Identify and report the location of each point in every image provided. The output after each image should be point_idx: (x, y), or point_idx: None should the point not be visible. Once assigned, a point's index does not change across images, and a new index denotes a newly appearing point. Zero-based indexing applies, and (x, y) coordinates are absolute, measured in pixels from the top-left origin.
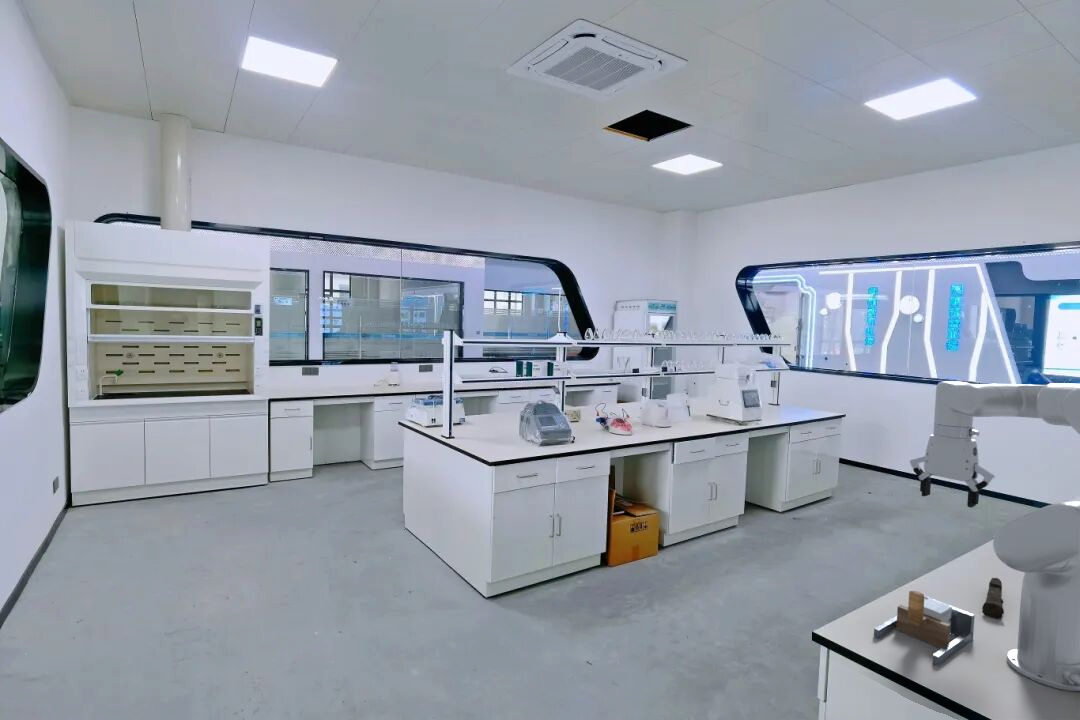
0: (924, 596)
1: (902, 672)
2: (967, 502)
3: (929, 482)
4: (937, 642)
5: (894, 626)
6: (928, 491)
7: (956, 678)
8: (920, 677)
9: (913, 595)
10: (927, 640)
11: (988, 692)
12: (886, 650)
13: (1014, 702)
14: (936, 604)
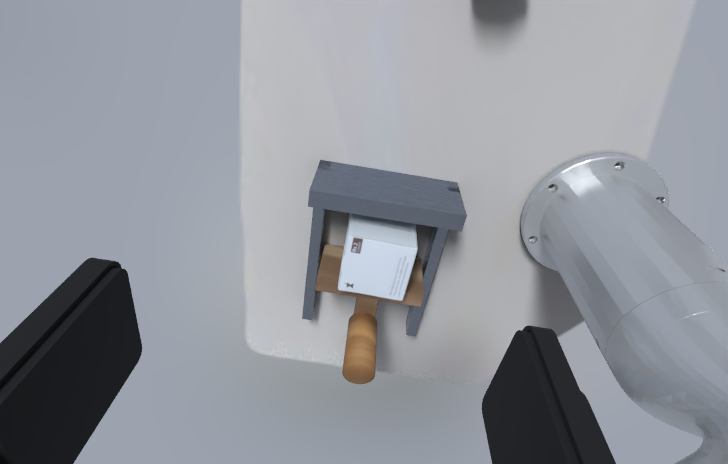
0: (350, 237)
1: (376, 367)
2: (487, 436)
3: (29, 421)
4: None
5: (319, 259)
6: (110, 330)
7: (443, 335)
8: (399, 363)
9: (355, 383)
10: None
11: (487, 340)
12: (338, 330)
13: None
14: (386, 266)
